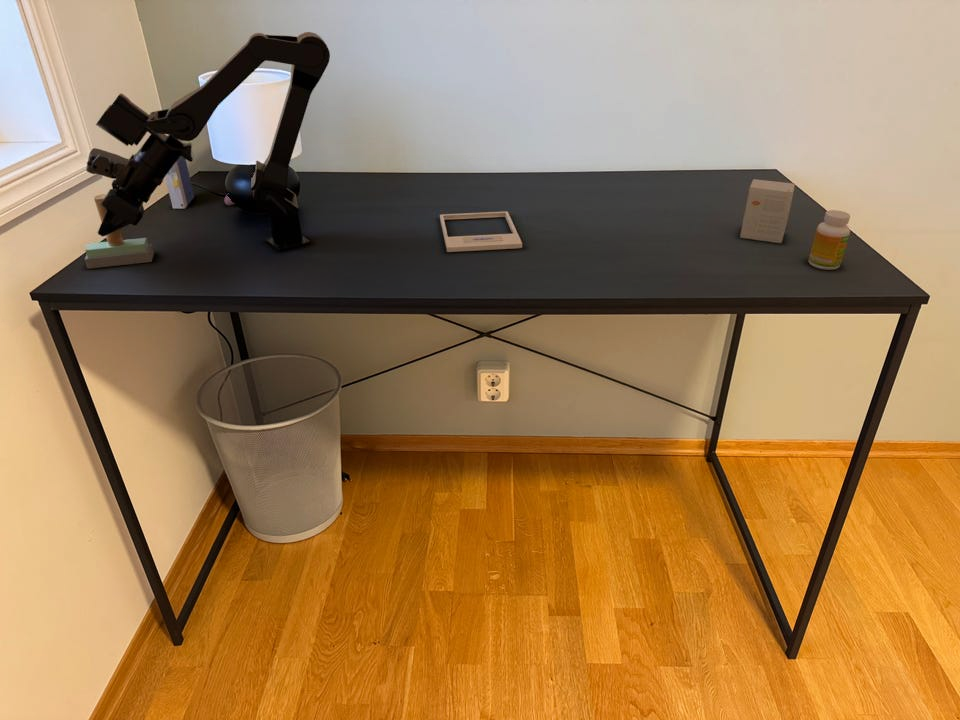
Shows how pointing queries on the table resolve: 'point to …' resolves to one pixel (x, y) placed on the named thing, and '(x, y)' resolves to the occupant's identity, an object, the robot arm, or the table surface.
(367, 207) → the table surface
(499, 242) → the photo frame
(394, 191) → the table surface
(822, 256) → the supplement bottle
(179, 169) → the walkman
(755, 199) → the small box
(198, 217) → the table surface
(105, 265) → the wiper
